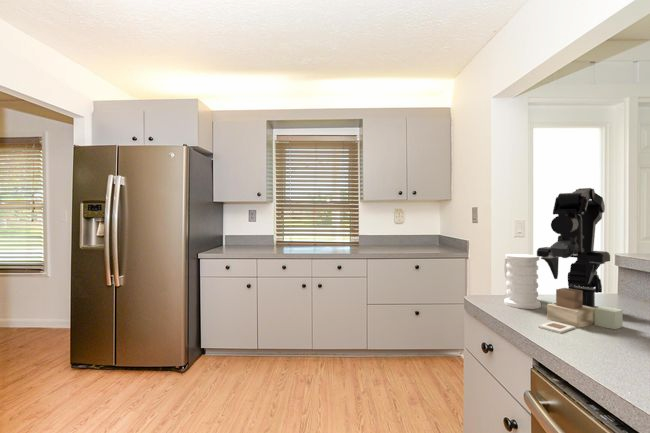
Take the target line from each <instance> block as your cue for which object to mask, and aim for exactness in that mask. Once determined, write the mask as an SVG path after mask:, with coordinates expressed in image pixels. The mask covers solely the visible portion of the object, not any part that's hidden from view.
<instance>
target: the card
mask: <svg viewBox="0 0 650 433" xmlns="http://www.w3.org/2000/svg"><path fill="white" fill-rule="evenodd" d="M538 328H540V329H543V330H547V331H551V332H554V333H559V334H563V333H565V332H567V331H571V330H575V329H576V327H575V326H571V325H567V324H562V323H558V322H555V321H552V320H551V321H549V322H546V323H542V324H539V325H538Z"/></svg>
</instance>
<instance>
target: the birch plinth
mask: <svg viewBox="0 0 650 433" xmlns="http://www.w3.org/2000/svg"><path fill="white" fill-rule="evenodd" d="M546 319H547V320H549V321H551V322H552V321H554V322H559V323H562V324H567V325H571V326H575V329H576V328H581V327H583V328H584V327H587V326H592V325H595V308H593V307H589V306H584V305H583V307H581V308H577V309H570V308H566V307H561V306H556V302H554V303H547V304H546Z"/></svg>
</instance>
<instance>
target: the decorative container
mask: <svg viewBox="0 0 650 433" xmlns="http://www.w3.org/2000/svg"><path fill="white" fill-rule="evenodd" d="M504 256H505V259H507V265H506V266H507V274H506V275H507V282H506V281H505V283H506V292H507V294H508V297H507V296H506V298H504V305H506V306H508V307H511V308H512V307H513V308H517V309H523V310H536V309H537V310H538V309H541V307H542V306H541V302H540V301H539V300H537V298H538V297H539V292H538V288H539V284H538V282H537V280H538V279H539V274H538V273H537V272H538V270H539V266H538V262H539V261H540V257H539V256H537V254H527V253H506V254H505V255H504ZM505 259H504V260H505ZM506 292H505V293H506Z"/></svg>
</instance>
